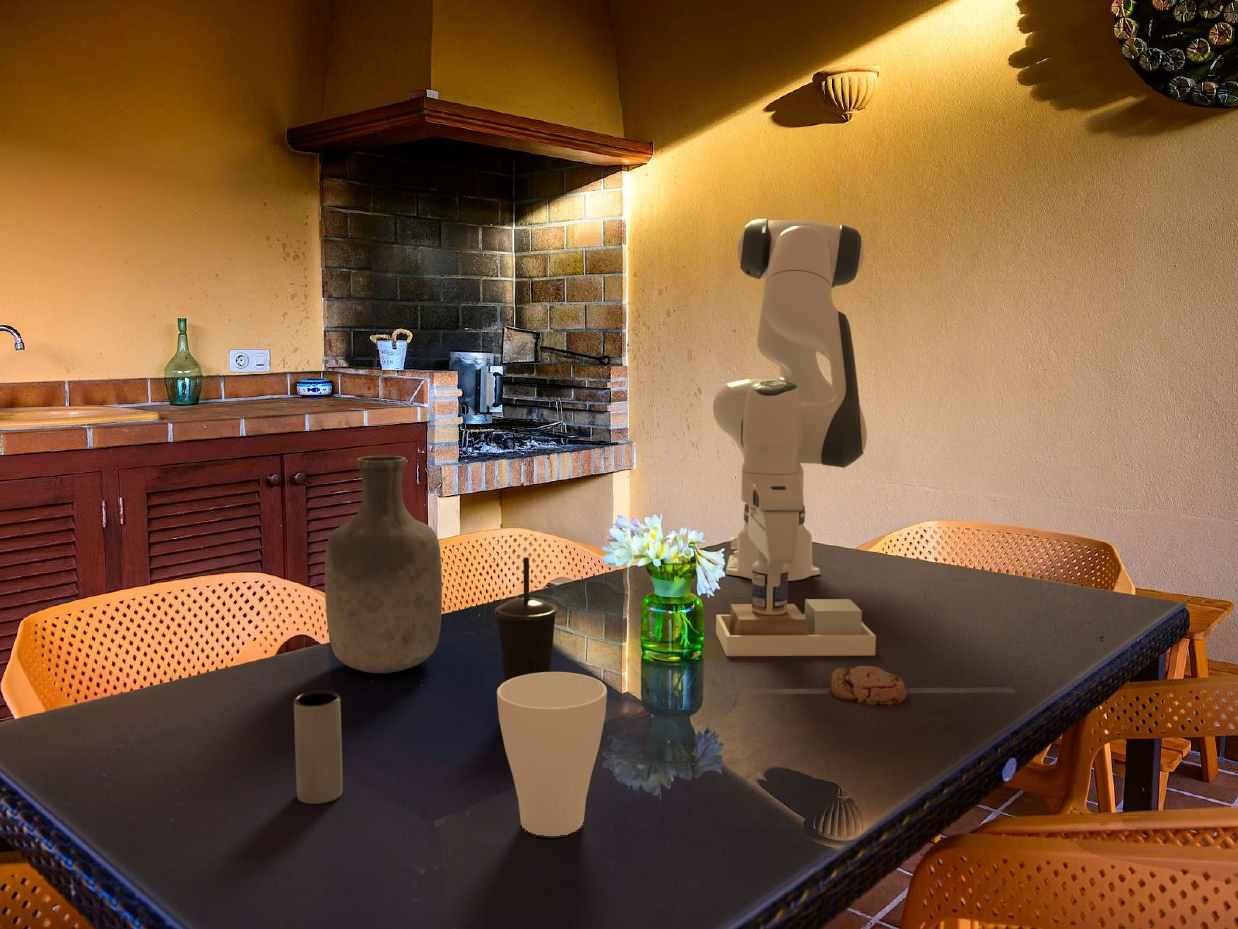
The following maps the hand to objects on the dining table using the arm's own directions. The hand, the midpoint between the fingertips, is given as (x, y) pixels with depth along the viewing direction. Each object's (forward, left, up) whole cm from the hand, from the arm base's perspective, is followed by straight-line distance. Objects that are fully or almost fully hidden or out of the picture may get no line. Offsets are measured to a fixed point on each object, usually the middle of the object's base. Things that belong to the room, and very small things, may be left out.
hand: (769, 580), depth 156 cm
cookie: (+20, +10, -11) cm, 25 cm away
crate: (0, +4, -10) cm, 11 cm away
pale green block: (0, +10, -10) cm, 14 cm away
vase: (+9, -56, -11) cm, 58 cm away
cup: (+57, -31, -11) cm, 66 cm away
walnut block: (0, 0, -10) cm, 10 cm away
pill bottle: (0, 0, -5) cm, 5 cm away
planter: (+50, -55, -11) cm, 75 cm away
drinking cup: (+28, -35, -11) cm, 46 cm away
